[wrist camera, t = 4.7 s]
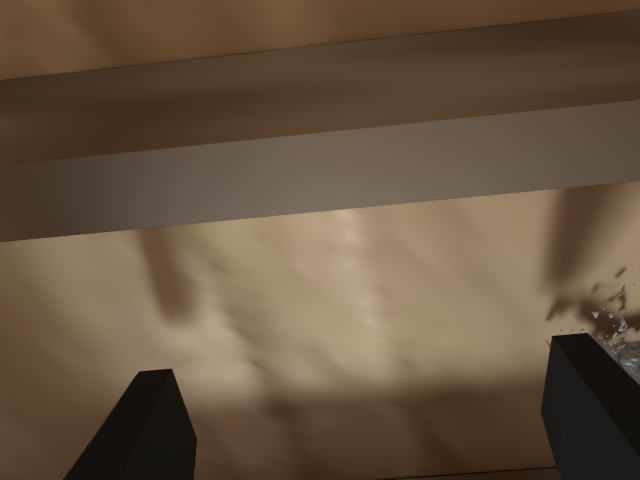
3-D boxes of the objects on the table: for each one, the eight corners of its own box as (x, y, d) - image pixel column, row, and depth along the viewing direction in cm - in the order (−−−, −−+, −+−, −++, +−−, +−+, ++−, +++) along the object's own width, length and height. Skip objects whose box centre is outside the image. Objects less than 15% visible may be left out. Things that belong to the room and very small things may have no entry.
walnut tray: (-137, 540, 17) (-214, 666, 14) (-536, 139, 10) (-820, 249, 7) (661, 483, 16) (726, 609, 13) (841, -13, 9) (1049, 57, 6)
